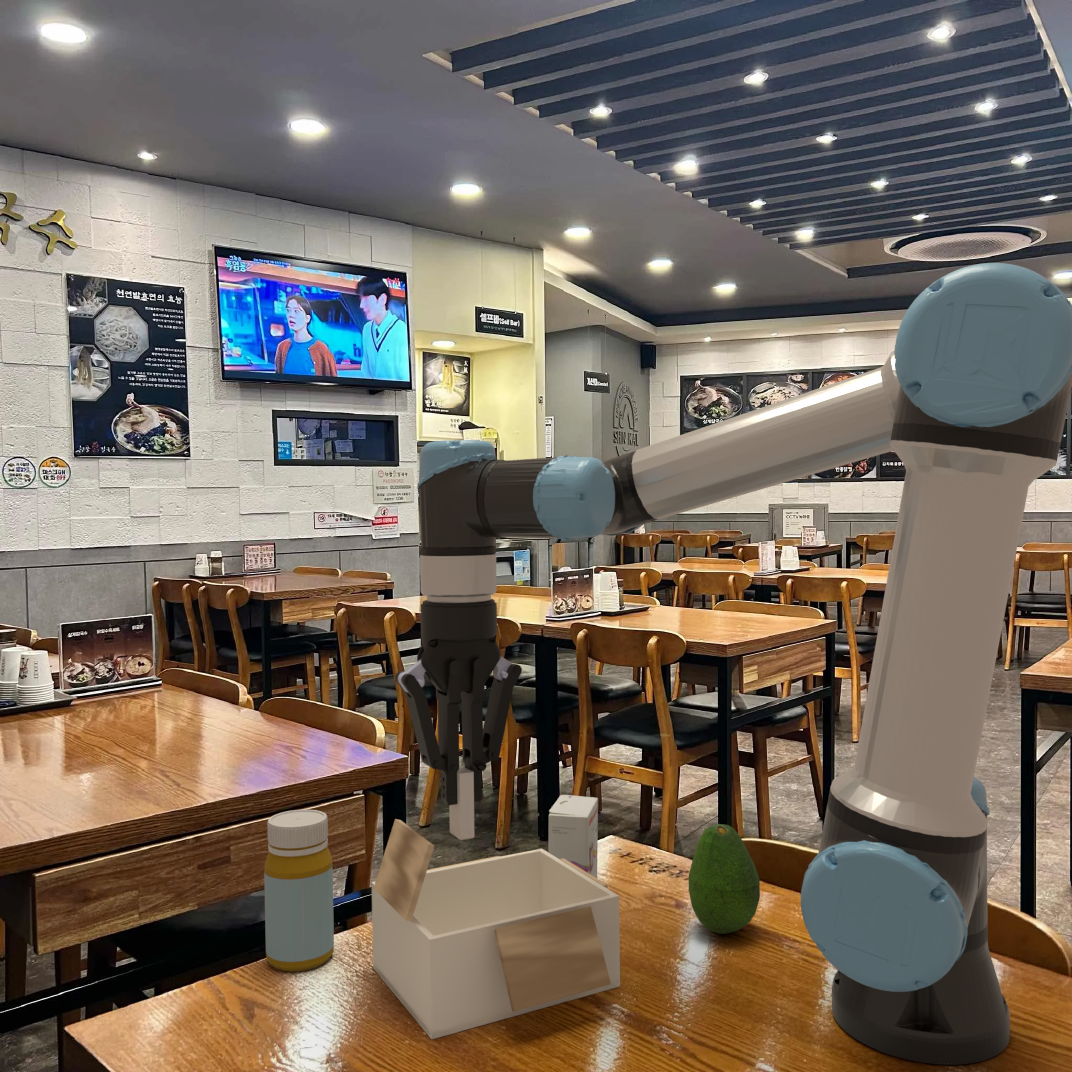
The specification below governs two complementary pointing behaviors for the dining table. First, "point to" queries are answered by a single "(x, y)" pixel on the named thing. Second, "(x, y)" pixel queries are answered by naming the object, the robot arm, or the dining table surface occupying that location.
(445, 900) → the carton
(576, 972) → the near flap
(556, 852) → the ink box
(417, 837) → the left flap
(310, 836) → the bottle
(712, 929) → the fruit
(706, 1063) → the dining table surface
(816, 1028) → the dining table surface
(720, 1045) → the dining table surface
